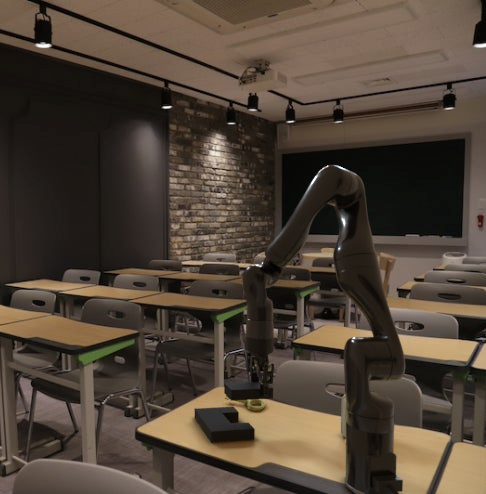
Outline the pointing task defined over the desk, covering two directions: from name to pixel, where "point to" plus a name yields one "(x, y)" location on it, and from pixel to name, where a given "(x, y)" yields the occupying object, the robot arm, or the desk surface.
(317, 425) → the desk surface
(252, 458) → the desk surface
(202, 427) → the base pad
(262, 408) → the key
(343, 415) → the photo printer
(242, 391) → the strip pad
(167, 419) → the desk surface
